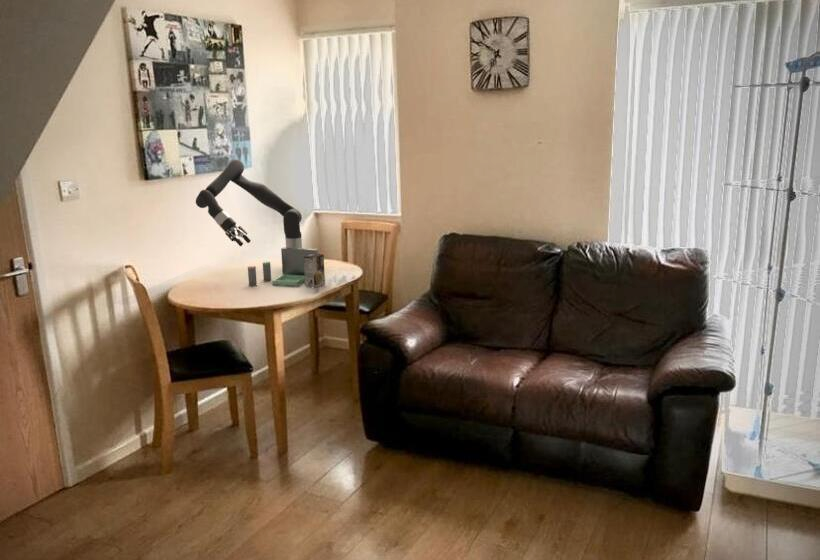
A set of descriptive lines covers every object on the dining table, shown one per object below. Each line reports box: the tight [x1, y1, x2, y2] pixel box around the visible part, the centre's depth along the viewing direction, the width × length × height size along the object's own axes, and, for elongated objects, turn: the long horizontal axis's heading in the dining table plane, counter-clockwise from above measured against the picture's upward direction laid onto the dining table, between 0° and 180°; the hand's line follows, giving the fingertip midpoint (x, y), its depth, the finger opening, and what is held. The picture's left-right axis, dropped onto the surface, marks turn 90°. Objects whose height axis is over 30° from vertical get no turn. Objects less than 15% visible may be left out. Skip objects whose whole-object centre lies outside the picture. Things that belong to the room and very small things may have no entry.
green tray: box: [271, 273, 305, 287], centre depth 354 cm, size 14×14×2 cm
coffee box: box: [304, 252, 326, 289], centre depth 347 cm, size 9×6×16 cm
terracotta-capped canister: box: [247, 265, 258, 286], centre depth 349 cm, size 4×4×10 cm
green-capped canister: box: [262, 261, 272, 282], centre depth 358 cm, size 4×4×10 cm
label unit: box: [280, 246, 319, 276], centre depth 363 cm, size 8×20×16 cm, turn 76°
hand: (245, 243), depth 358 cm, fingers open, 8 cm apart
